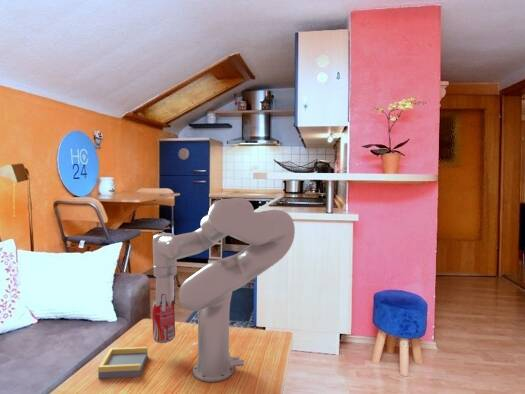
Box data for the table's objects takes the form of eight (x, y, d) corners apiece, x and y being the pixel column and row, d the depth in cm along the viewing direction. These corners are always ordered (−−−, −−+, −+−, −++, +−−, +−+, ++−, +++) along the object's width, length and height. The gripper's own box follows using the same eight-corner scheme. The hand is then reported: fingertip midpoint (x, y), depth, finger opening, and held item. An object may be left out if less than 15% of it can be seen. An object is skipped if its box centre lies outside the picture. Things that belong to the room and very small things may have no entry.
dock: (147, 356, 125) (147, 346, 125) (140, 376, 113) (139, 365, 113) (110, 358, 123) (109, 348, 123) (98, 378, 112) (98, 367, 111)
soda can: (179, 337, 126) (178, 298, 126) (166, 345, 120) (165, 305, 119) (162, 334, 129) (161, 296, 128) (148, 342, 122) (147, 303, 122)
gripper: (157, 265, 133) (159, 316, 134) (149, 277, 117) (151, 334, 118) (179, 264, 134) (180, 314, 135) (173, 276, 118) (175, 333, 119)
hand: (166, 323), depth 126 cm, fingers closed on soda can, 2 cm apart
